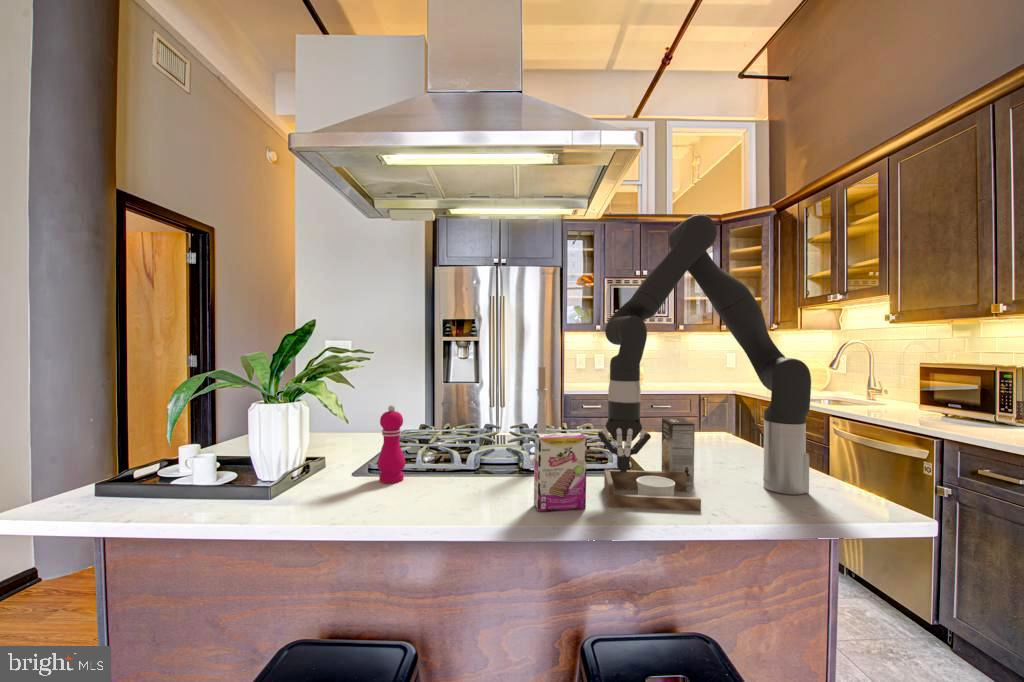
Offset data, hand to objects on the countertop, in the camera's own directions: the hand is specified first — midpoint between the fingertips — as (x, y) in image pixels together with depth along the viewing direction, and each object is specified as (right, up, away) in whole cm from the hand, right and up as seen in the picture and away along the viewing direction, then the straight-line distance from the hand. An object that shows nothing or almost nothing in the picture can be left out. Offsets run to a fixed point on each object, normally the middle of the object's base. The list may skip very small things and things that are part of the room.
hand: (622, 471), depth 116 cm
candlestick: (-18, -6, +27) cm, 33 cm away
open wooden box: (+6, -6, -1) cm, 9 cm away
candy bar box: (-16, -6, -7) cm, 19 cm away
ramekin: (+8, -7, -1) cm, 10 cm away
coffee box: (+18, -6, +14) cm, 23 cm away
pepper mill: (-59, -6, +13) cm, 60 cm away
